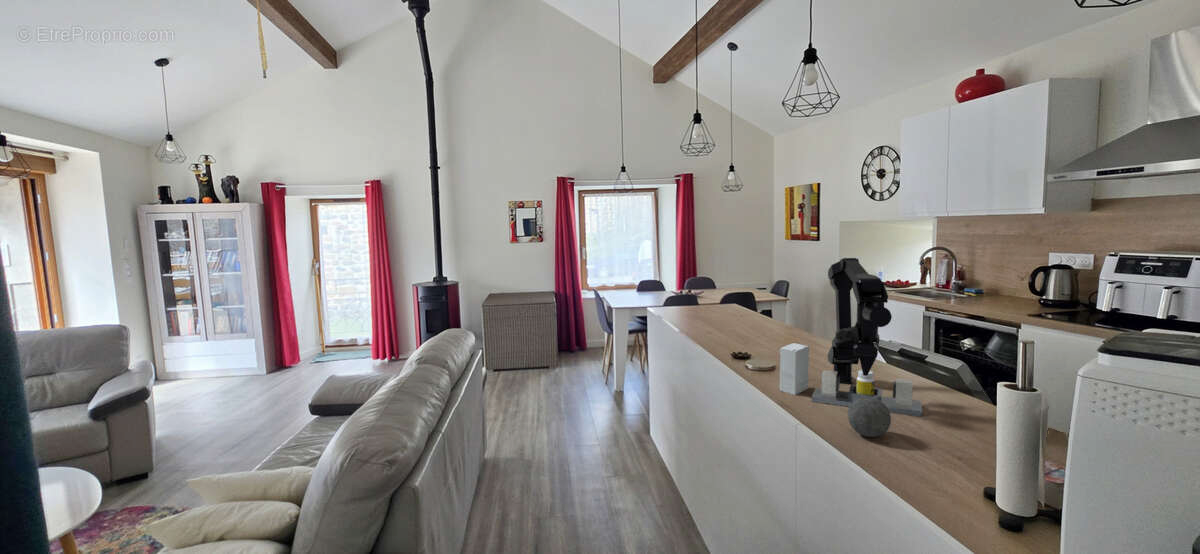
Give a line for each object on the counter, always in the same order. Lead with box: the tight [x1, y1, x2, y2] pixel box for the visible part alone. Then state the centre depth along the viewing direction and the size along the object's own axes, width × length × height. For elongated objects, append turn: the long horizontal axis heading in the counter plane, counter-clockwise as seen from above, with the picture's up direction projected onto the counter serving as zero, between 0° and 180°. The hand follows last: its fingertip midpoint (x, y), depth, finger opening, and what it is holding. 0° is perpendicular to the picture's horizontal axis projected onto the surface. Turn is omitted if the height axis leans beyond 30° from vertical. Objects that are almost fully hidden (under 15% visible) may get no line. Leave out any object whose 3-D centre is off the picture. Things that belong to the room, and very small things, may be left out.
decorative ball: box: [847, 397, 892, 438], centre depth 136 cm, size 10×10×10 cm
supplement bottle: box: [856, 369, 875, 395], centre depth 158 cm, size 5×5×8 cm
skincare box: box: [779, 342, 810, 396], centre depth 171 cm, size 8×6×15 cm
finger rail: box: [811, 369, 923, 417], centre depth 158 cm, size 9×29×8 cm, turn 60°
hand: (866, 371), depth 157 cm, fingers open, 9 cm apart
